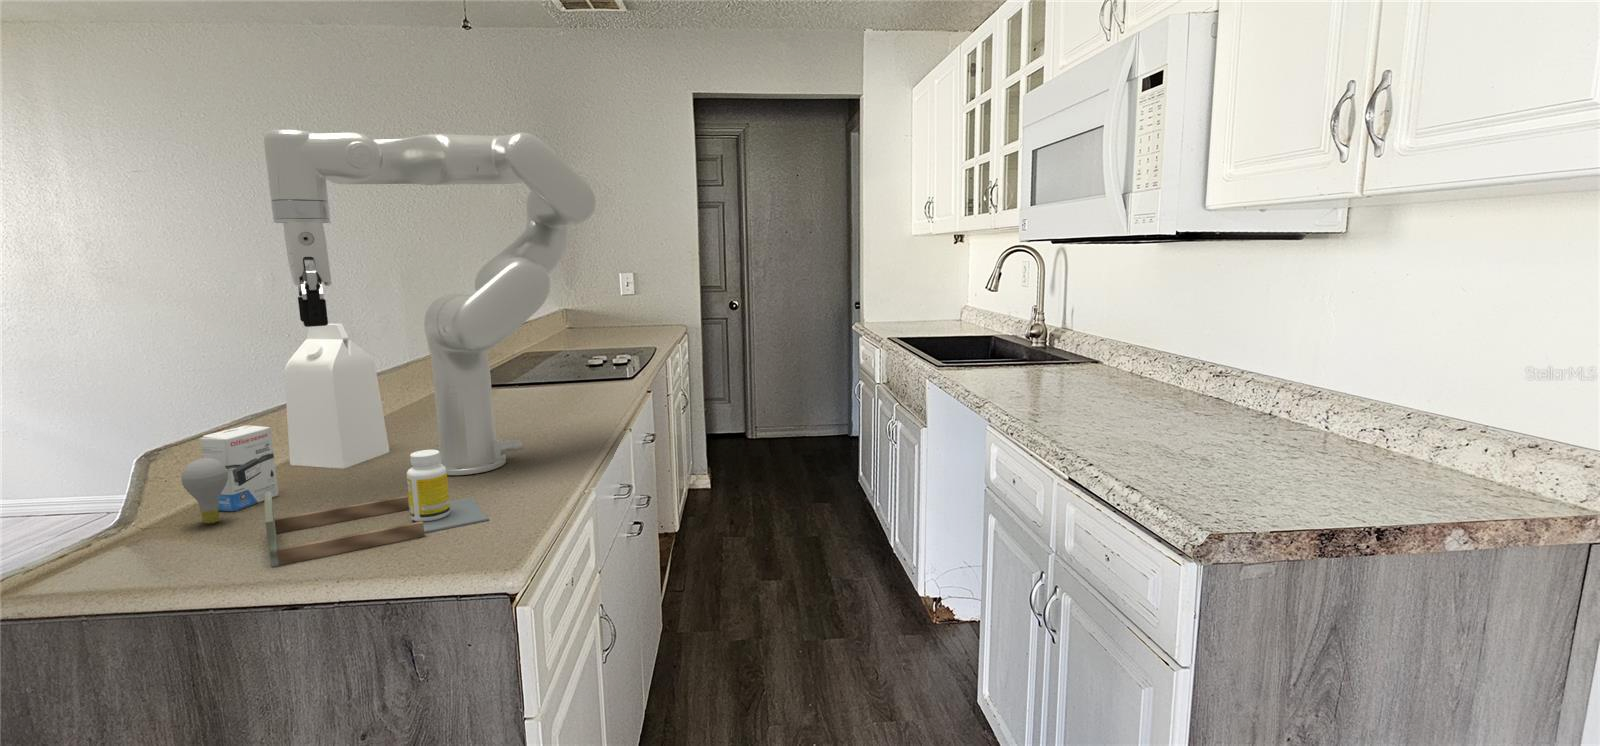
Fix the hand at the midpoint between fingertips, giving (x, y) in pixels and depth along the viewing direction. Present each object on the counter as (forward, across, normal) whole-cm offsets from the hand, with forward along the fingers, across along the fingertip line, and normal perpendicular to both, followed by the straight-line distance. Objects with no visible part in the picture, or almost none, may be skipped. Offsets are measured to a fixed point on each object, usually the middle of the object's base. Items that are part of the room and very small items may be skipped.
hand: (314, 323), depth 125 cm
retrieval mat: (+28, -22, -14) cm, 38 cm away
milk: (+29, +25, -3) cm, 38 cm away
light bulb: (+28, -5, +16) cm, 33 cm away
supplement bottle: (+28, -22, -11) cm, 37 cm away
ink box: (+29, +4, +12) cm, 31 cm away
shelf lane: (+28, -22, 0) cm, 36 cm away
